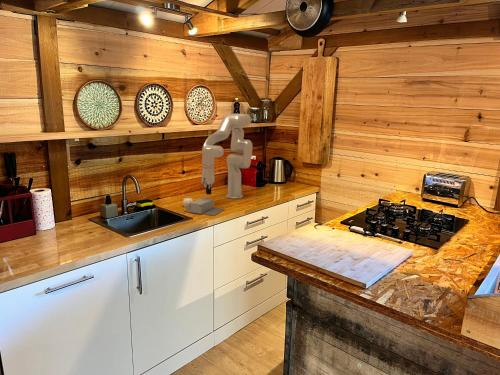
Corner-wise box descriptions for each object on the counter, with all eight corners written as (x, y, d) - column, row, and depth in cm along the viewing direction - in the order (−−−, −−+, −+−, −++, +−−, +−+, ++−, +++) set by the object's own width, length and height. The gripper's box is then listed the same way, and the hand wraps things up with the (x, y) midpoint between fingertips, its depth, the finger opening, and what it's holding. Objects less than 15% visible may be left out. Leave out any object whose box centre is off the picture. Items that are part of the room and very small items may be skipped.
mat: (195, 205, 256) (195, 205, 256) (225, 209, 248) (225, 209, 248) (183, 211, 243) (183, 211, 242) (214, 216, 235) (214, 215, 235)
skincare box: (203, 206, 254) (189, 213, 240) (203, 195, 252) (189, 202, 239) (214, 208, 250) (201, 215, 237) (214, 197, 248) (200, 204, 235)
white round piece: (186, 204, 259) (186, 197, 258) (194, 205, 257) (194, 198, 256) (181, 206, 254) (181, 199, 253) (189, 207, 252) (189, 200, 250)
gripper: (208, 164, 253) (208, 191, 257) (197, 167, 239) (197, 196, 243) (218, 165, 250) (218, 192, 254) (208, 168, 237) (208, 197, 241)
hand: (208, 194), depth 249 cm, fingers closed
